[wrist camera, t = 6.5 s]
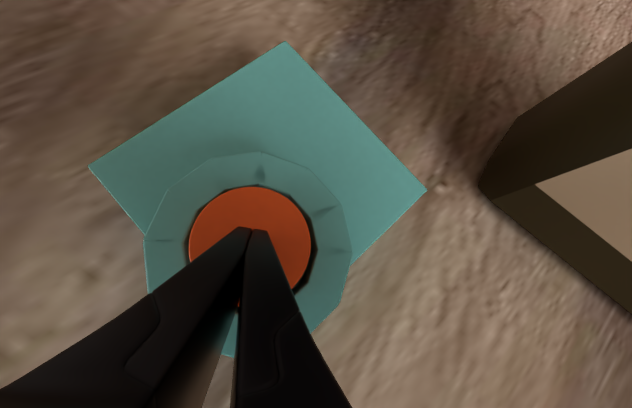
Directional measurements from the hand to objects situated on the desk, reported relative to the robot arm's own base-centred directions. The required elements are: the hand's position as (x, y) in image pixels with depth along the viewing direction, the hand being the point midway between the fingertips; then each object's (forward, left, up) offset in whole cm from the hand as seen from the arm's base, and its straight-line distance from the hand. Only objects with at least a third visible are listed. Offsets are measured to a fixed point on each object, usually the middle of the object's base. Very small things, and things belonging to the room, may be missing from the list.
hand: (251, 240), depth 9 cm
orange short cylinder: (0, 0, -3) cm, 3 cm away
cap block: (+2, +2, -7) cm, 8 cm away
